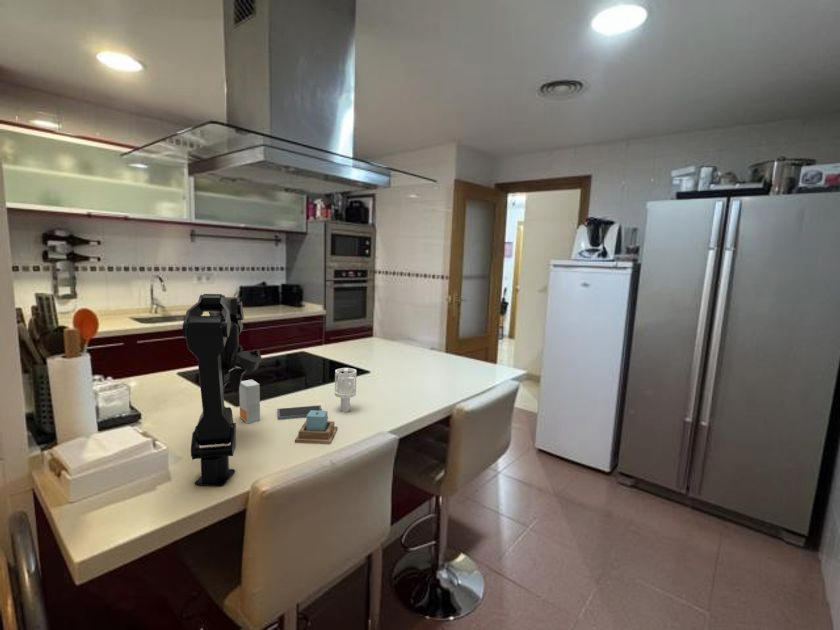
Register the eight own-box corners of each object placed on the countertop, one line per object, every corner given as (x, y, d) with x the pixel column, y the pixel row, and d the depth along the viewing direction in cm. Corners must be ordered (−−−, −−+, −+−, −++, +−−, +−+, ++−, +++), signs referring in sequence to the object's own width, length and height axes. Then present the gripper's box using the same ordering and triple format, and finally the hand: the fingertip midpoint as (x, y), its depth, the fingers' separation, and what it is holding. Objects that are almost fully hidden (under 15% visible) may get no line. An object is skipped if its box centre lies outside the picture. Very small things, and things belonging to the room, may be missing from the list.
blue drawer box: (323, 436, 117) (324, 416, 116) (306, 436, 117) (306, 415, 116) (327, 430, 122) (327, 410, 121) (310, 429, 122) (310, 409, 121)
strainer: (334, 414, 136) (335, 370, 134) (334, 406, 143) (335, 364, 140) (356, 413, 137) (357, 370, 135) (355, 405, 144) (356, 364, 142)
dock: (330, 444, 115) (330, 434, 114) (294, 442, 115) (294, 433, 114) (337, 429, 125) (337, 420, 124) (304, 427, 125) (304, 418, 124)
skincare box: (239, 417, 130) (238, 381, 128) (252, 414, 132) (252, 378, 131) (247, 424, 125) (246, 386, 124) (260, 420, 128) (260, 383, 126)
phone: (322, 415, 134) (322, 412, 134) (277, 419, 129) (277, 416, 129) (320, 408, 141) (320, 404, 140) (277, 411, 136) (277, 408, 136)
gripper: (242, 352, 102) (243, 412, 104) (269, 337, 120) (269, 388, 123) (197, 350, 102) (199, 410, 104) (231, 335, 120) (232, 386, 122)
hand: (228, 398), depth 113 cm, fingers open, 9 cm apart
